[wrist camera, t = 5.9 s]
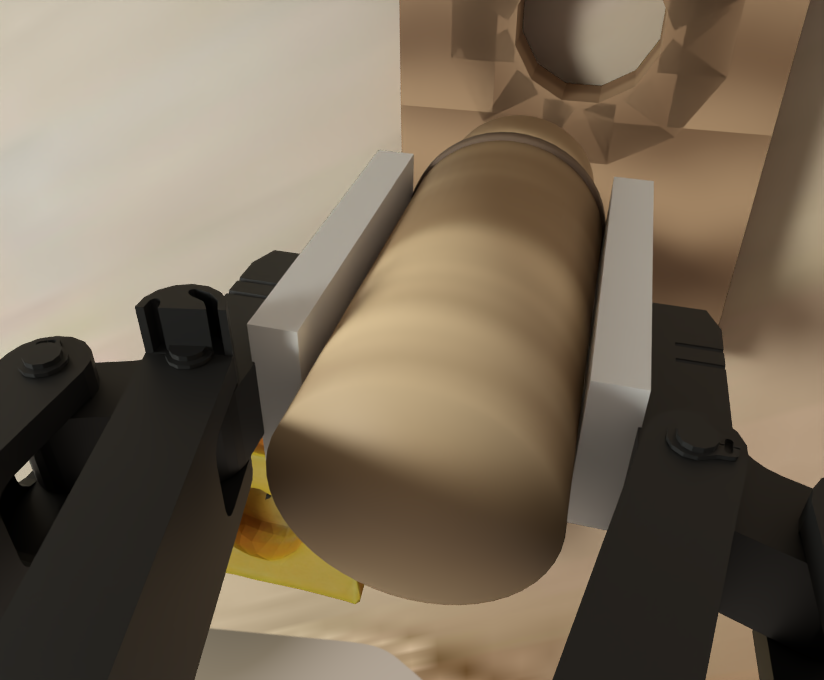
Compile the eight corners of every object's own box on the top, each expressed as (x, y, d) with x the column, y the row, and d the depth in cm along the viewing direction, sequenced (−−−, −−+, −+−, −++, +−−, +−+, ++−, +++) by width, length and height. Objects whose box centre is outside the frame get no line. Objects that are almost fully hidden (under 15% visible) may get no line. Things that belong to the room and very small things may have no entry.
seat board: (411, -249, 26) (305, -255, 18) (867, -255, 23) (975, -266, 15) (414, 300, 39) (353, 434, 31) (704, 339, 36) (718, 497, 28)
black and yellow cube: (418, 332, 40) (362, 468, 32) (415, 468, 46) (367, 610, 38) (237, 303, 42) (142, 425, 34) (257, 437, 48) (180, 566, 40)
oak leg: (434, 90, 17) (245, 353, 9) (625, 108, 16) (594, 414, 8) (429, 253, 19) (276, 571, 12) (595, 276, 19) (550, 635, 11)
